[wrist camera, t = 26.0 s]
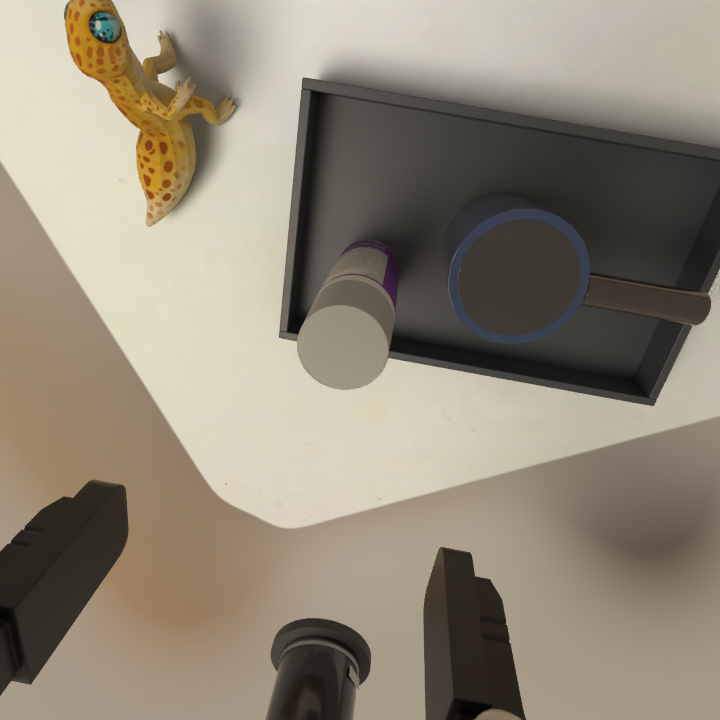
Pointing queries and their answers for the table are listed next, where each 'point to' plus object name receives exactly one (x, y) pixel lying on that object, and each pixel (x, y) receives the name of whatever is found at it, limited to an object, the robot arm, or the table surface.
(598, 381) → the tray
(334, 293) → the container
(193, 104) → the toy
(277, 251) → the table surface
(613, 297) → the blue saucepan
